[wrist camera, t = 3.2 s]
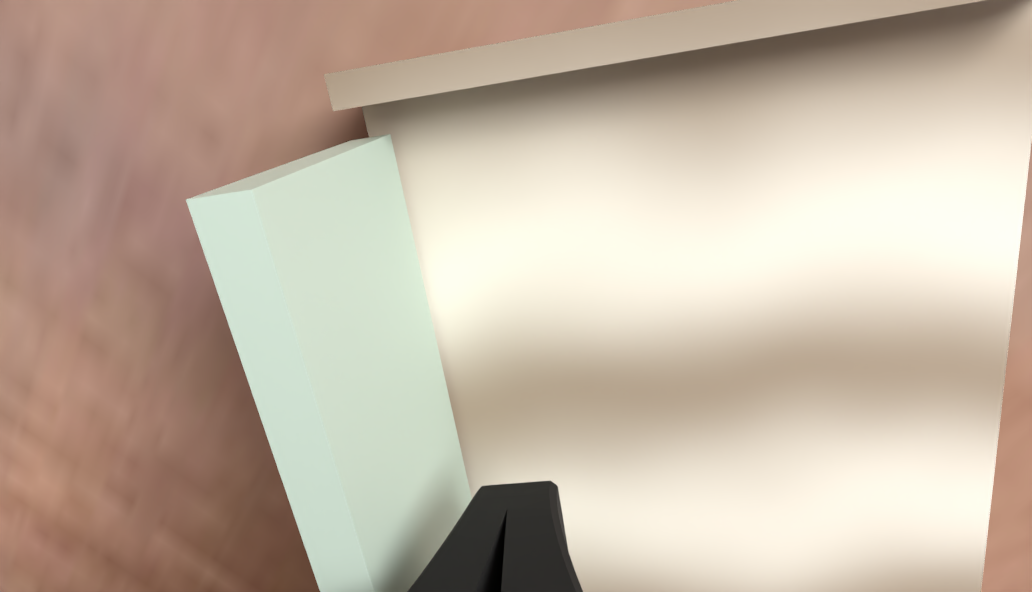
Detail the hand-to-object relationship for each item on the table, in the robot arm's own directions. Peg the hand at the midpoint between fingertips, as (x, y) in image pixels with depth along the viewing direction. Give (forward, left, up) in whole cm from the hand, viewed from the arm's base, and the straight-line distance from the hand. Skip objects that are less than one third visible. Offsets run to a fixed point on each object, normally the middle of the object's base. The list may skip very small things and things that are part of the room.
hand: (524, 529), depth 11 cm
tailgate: (0, +3, -3) cm, 4 cm away
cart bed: (0, -4, -6) cm, 7 cm away
